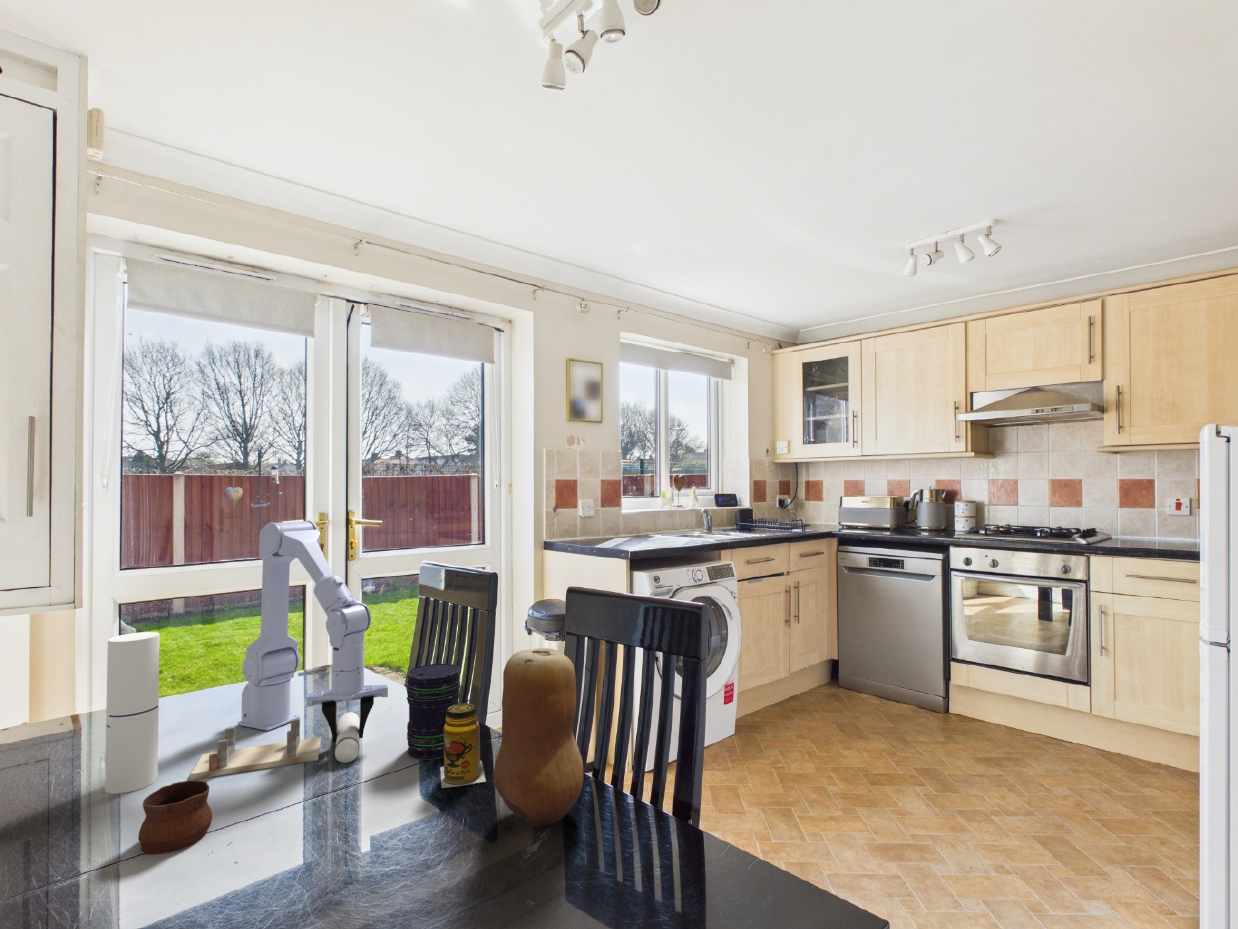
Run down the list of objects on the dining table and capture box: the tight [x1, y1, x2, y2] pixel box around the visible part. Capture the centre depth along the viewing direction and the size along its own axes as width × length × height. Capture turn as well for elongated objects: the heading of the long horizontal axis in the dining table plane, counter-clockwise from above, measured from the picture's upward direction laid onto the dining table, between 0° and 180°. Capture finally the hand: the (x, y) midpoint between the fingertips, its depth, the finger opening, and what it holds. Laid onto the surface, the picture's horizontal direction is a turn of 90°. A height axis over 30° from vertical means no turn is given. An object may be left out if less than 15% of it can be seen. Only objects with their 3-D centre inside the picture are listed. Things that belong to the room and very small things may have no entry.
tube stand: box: [190, 718, 322, 780], centre depth 117 cm, size 20×9×6 cm, turn 112°
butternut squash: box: [492, 647, 584, 828], centre depth 96 cm, size 14×13×25 cm
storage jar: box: [406, 663, 461, 761], centre depth 122 cm, size 10×10×15 cm
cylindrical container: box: [104, 631, 161, 795], centre depth 109 cm, size 7×7×25 cm
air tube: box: [334, 711, 360, 764], centre depth 123 cm, size 16×4×4 cm, turn 22°
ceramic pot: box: [137, 779, 233, 856], centre depth 91 cm, size 18×18×7 cm
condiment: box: [439, 702, 487, 789], centre depth 111 cm, size 7×8×12 cm
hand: (348, 738), depth 123 cm, fingers closed on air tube, 4 cm apart
